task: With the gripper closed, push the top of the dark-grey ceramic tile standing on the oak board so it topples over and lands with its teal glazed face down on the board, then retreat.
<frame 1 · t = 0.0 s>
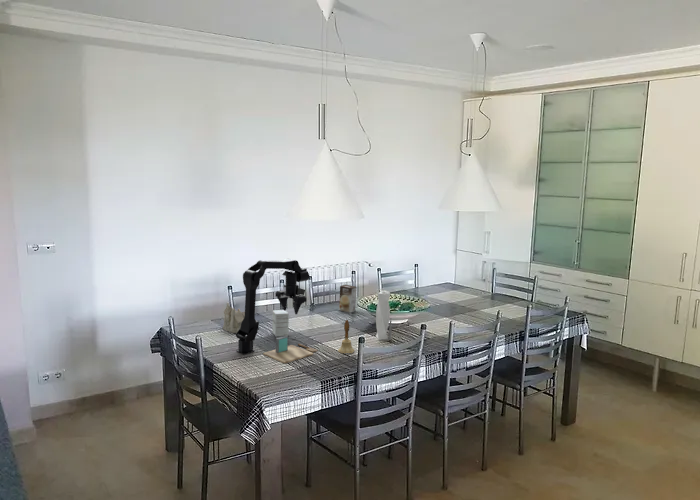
hand: (290, 312, 279), 15 cm above the table, fingers open, 9 cm apart
tile: (281, 351, 261), point 1 cm above the table, touching board
hand bell: (346, 351, 267), on the table
white bottle: (382, 339, 289), on the table
board: (288, 354, 259), on the table
supplement box: (280, 334, 290), on the table
beige sack: (237, 328, 298), on the table
turner: (306, 348, 269), on the table
coffee box: (347, 310, 342), on the table
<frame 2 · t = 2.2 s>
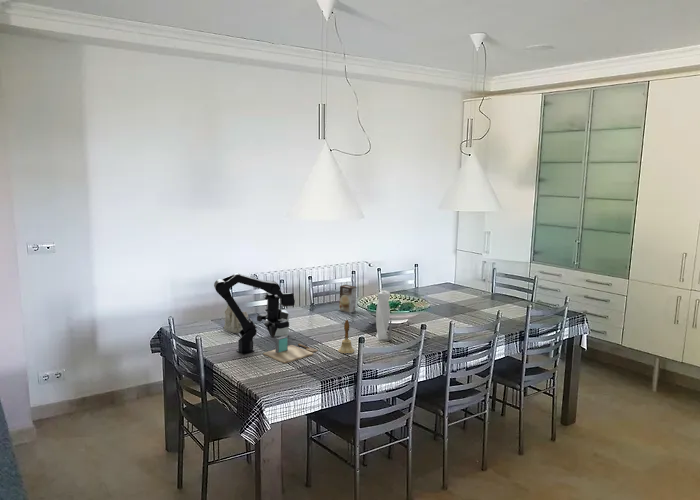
hand: (272, 337, 265), 6 cm above the table, fingers closed
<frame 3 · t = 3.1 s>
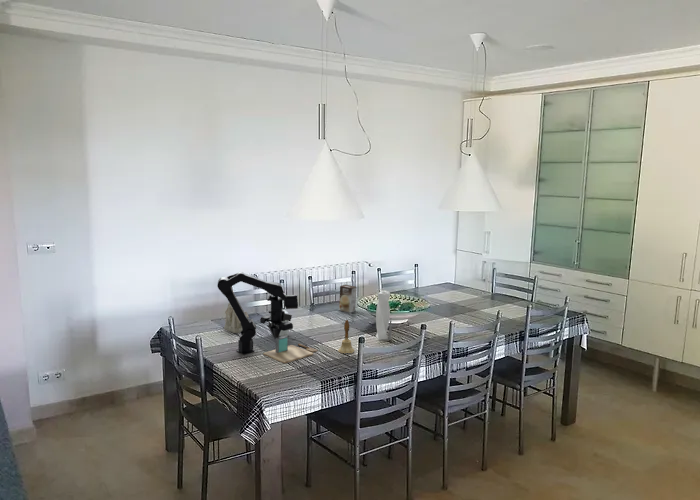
hand: (276, 339, 263), 6 cm above the table, fingers closed
nothing on the table moved.
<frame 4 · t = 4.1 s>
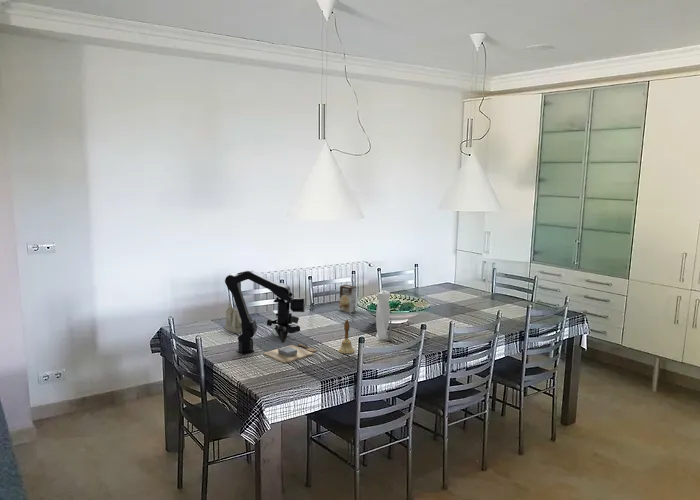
hand: (283, 342, 260), 6 cm above the table, fingers closed
tile: (283, 349, 260), point 2 cm above the table, tilted 90°, touching board
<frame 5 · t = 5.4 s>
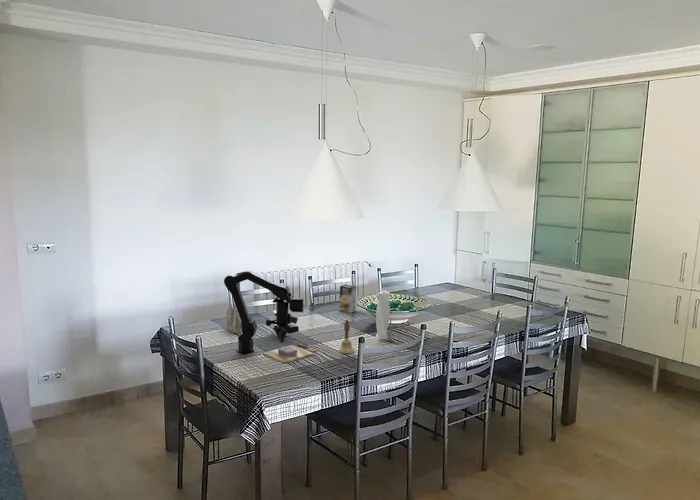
hand: (281, 342, 260), 5 cm above the table, fingers closed
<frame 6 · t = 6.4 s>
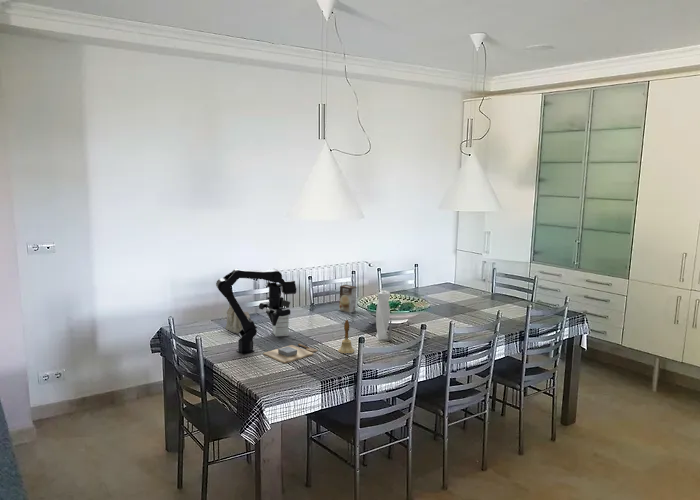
hand: (274, 325, 265), 12 cm above the table, fingers closed
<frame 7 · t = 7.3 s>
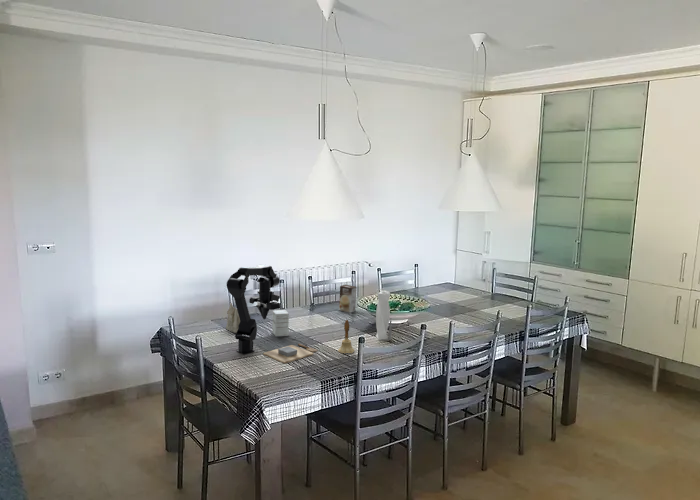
hand: (264, 319, 275), 12 cm above the table, fingers closed
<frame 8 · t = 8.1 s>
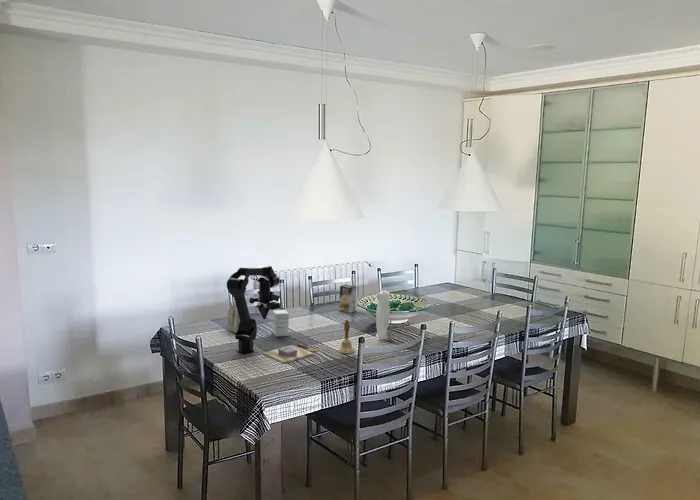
hand: (264, 319, 275), 12 cm above the table, fingers closed
at the end: tile tilted 90°; tile inside the target area on the board (3.1 cm from its centre), point 1.9 cm above the board's base; the gripper is holding nothing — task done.
